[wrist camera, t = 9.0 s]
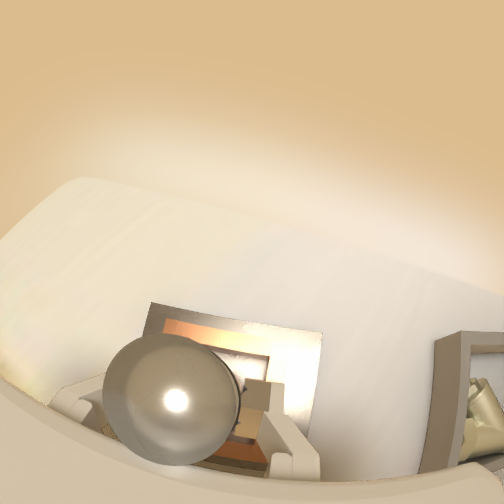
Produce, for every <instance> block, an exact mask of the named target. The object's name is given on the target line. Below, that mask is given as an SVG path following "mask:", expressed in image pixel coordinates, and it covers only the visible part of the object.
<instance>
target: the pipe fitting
mask: <svg viewBox="0 0 504 504" xmlns="http://www.w3.org/2000/svg"><path fill="white" fill-rule="evenodd" d="M493 453H504V412H503V410H502V408H501V406H500V404H499V402H498V400H497V398H496V396H495V394H494V392H493V390H492V389H491V387H490V385H489V383H488V381H487V379H485V378H481V379H478V380H477V379H476V378H473V379H470V382H469V395H468V405H467V414H466V421H465V428H464V434H463V440H462V446H461V451H460V455H459V460H458V462H460V461H465V460H466V459H467V458H473V457H478V456H483V455H488V454H493Z"/></svg>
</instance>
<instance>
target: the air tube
mask: <svg viewBox="0 0 504 504" xmlns="http://www.w3.org/2000/svg"><path fill="white" fill-rule="evenodd" d="M242 392H243V384H242V382H241V380H240V379H239V377H238V376H237V375H236V374H235V373H233V372H232V371H231V369H230V368H229V367H228V365H227V364H226V363H225V362H224V361H223V360H222V359H221V358H220V357H219V356H217V355H216V354H215V353H213V352H212V351H210V350H208V349H207V348H205V347H204V346H203V345H201V344H199V343H198V342H196V341H194V340H191V339H189V338H187V337H183V336H180V335H175V334H165V333H161V334H152V335H147V336H144V337H141V338H138V339H136V340H134V341H132V342H130V343H129V344H128V345H126V346H125V347H124V348H123V349H121V350H120V351H119V352H118V353H117V355H116V356H115V357H114V358H113V360H112V362H111V363H110V365H109V367H108V369H107V372H106V374H105V378H104V382H103V389H102V399H103V407H104V411H105V415H106V417H107V420H108V422H109V424H110V426H111V428H112V430H113V432H114V433H115V435H116V436H117V437H118V439H119V440H120V441H121V442H122V443H123V444H124V445H125V446H126V447H127V448H128V449H129V450H131V451H132V452H133V453H135V454H136V455H138V456H140V457H142V458H143V459H145V460H148V461H150V462H153V463H157V464H160V465H167V466H183V465H190V464H193V463H197V462H199V461H201V460H204V459H206V458H207V457H209V456H210V455H212V454H213V453H214V452H216V451H217V450H218V449H219V448H220V447H221V446H222V445H223V443H224V442H225V441H226V439H227V438H228V436H229V435H230V433H231V432H232V430H233V429H234V427H235V425H236V423H237V420H238V418H239V414H240V410H241V396H242Z"/></svg>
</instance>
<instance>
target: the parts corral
mask: <svg viewBox="0 0 504 504" xmlns="http://www.w3.org/2000/svg"><path fill="white" fill-rule="evenodd" d="M471 353H504V332H476V331H459V332H457V333H454V334H452V335H449V336H447V337H444V338H442V339H439V340H436V341H435V359H434V376H433V389H432V399H431V408H430V415H429V422H428V429H427V435H426V441H425V446H424V451H423V456H422V461H421V465H420V469H419V473H418V474H422V473H427V472H432V471H437V470H441V469H446V468H450V467H454V466H458V465H461V464H465V463H469V462H477V463H478V464H480V465H482V466H483V467H485V468H486V469H488V470H489V471H490V472H494V471H497V470H499V469H501V468H504V453H493V454H488V455H483V456H478V457H473V458H467V459H466V460H465V461H460V462H458V460H459V455H460V451H461V446H462V440H463V434H464V428H465V421H466V414H467V405H468V395H469V382H470V356H471Z"/></svg>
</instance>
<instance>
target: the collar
mask: <svg viewBox="0 0 504 504" xmlns="http://www.w3.org/2000/svg"><path fill="white" fill-rule="evenodd" d="M161 333H165V334H175V335H180V336H183V337H187V338H189V339H191V340H194V341H196V342H198V343H199V344H201V345H203V346H204V347H205V348H207V349H208V350H210V351H212V352H213V353H215V354H216V355H217V356H219V357H220V358H221V359H222V360H223V361H224V362H225V363H226V364H227V365H228V367H229V368H230V369H231V371H232V372H233V373H235V374H236V375H237V376H238V377H239V379H240V380H241V382H242V384H243V387H244V382H245V378H251V379H257V380H264V381H272V382H280V383H284V384H285V393H284V414H287V415H288V416H289V417H290V418H291V420H292V421H293V422H294V424H295V425H296V426H297V427H298V429H299V430H300V431H301V433H302V434H303V435H304V436H305V438H306V439H307V434H308V428H309V423H310V417H311V411H312V405H313V399H314V393H315V386H316V380H317V373H318V365H319V358H320V350H321V341H322V333H321V332H313V331H305V330H298V329H291V328H284V327H278V326H271V325H265V324H259V323H253V322H247V321H241V320H235V319H230V318H225V317H219V316H214V315H209V314H204V313H199V312H194V311H189V310H184V309H180V308H175V307H170V306H166V305H161V304H157V303H153V302H151V305H150V309H149V312H148V316H147V320H146V324H145V327H144V331H143V335H142V337H144V336H147V335H152V334H161ZM235 429H236V425H235V427H234V429H233V430H232V432H231V433H230V435H229V436H228V438H227V439H226V441H225V442H224V443H223V445H222V446H221V447H220V448H219V449H218V450H217V451H216V452H214V453H213V454H212V455H210V456H209V457H207V458H206V459H204V461H208V462H213V463H218V464H223V465H228V466H234V467H240V468H246V469H253V470H261V471H266V468H267V466H268V461H267V459H266V458H265V456H264V454H263V452H262V450H261V448H260V446H259V444H258V442H257V441H256V439H252V438H247V437H242V436H236V435H235Z"/></svg>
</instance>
